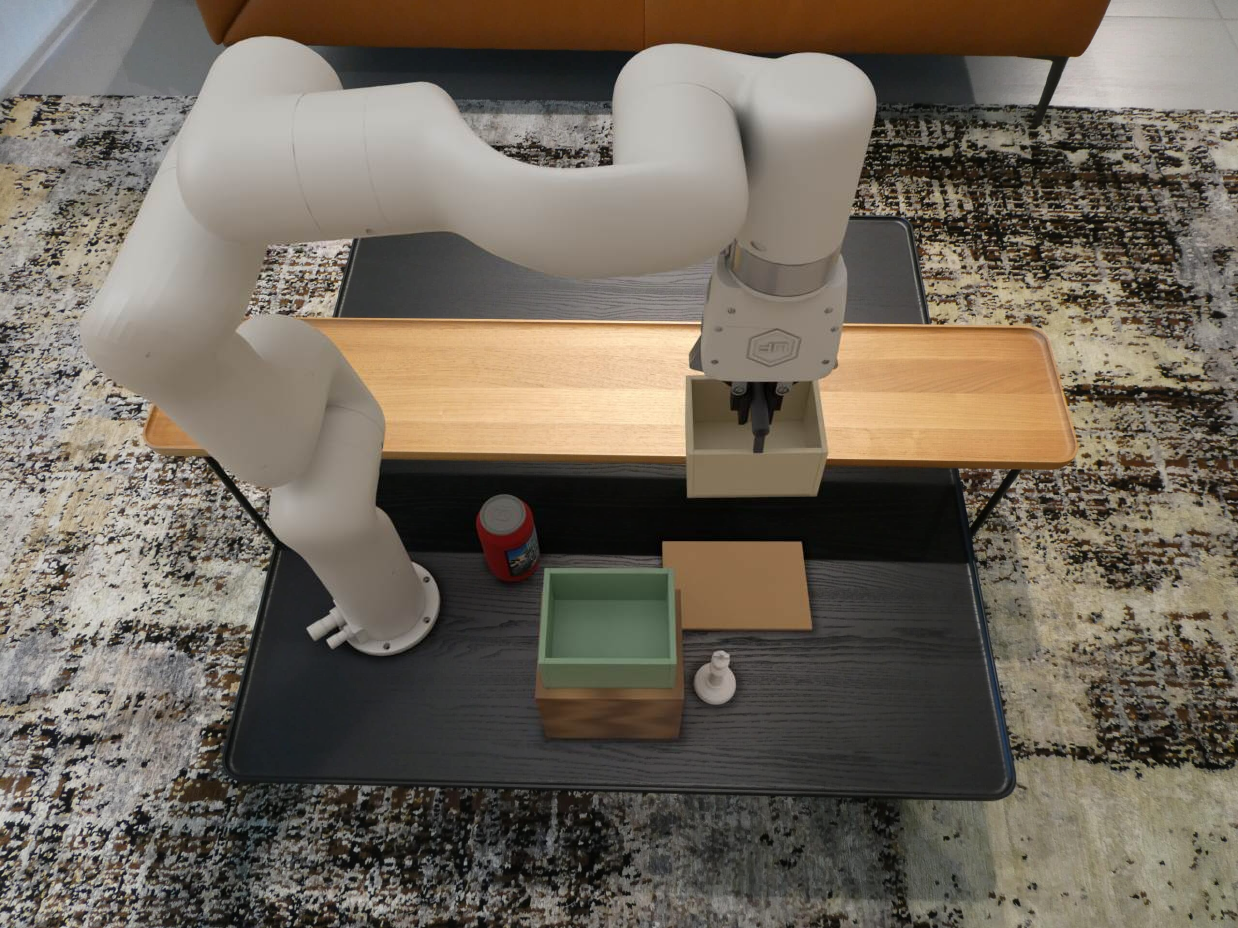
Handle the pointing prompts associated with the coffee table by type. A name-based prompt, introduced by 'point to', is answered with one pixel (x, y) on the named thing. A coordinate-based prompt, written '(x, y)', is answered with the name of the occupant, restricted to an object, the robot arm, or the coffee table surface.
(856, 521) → the coffee table surface
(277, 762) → the coffee table surface
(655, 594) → the green bin
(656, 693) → the wooden block
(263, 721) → the coffee table surface
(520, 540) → the beverage can
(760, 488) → the cream bin
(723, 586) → the cork mat
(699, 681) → the chess piece
